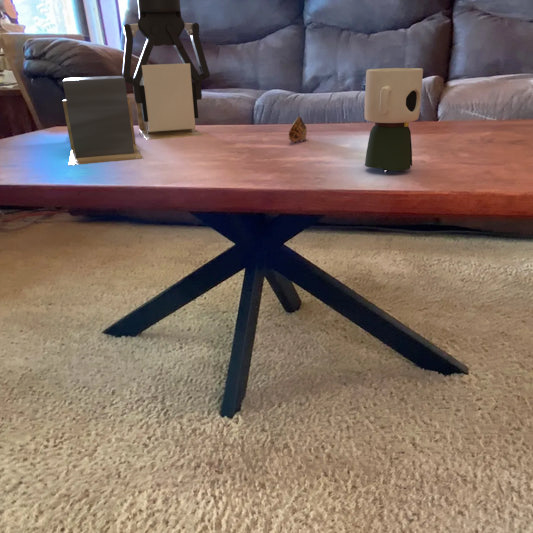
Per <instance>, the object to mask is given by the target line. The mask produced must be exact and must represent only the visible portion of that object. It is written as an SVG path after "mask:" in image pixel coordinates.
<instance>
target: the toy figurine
mask: <svg viewBox="0 0 533 533" xmlns="http://www.w3.org/2000/svg"><path fill="white" fill-rule="evenodd" d="M423 77H424V68H418V67H389V68H388V67H387V68H371V69H366V70H365V90H364V110H363V111H364V113H363V114H364V115H363V116H364V117H363V118H364V120H365V121H368V122H369V123H374V125H373V126H372V127H371V130H370V131H369V136H368V142H367V148H366V153H365V161H364V166H365V167H366V168H372V169H380V170H381V169H382V170H388V171H391V172H399V171H406V170H407V171H408V170H410V169H411V167H413V147H412V146H413V145H412V132H411V129H410V126H409V124H410V123H413V122H415V121H417V120H419V117H420V112H421V104H422V90H423V89H422V88H423Z"/></svg>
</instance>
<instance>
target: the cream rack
mask: <svg viewBox="0 0 533 533" xmlns="http://www.w3.org/2000/svg"><path fill="white" fill-rule="evenodd" d="M140 85H143V82H142V78H141V81H140ZM135 106H136V107H135V108H136V114H137V123H138V132H139V135H140V136H141V138H145V140H146V141H151V140H152V141H153V140H164V139H178V138H189V137H190V138H191V137H202V136H205V134H204V133H202V132H201V131H199V130H197V129H196V128H195V129H182V130H169V131H155V132H149V130H148V124H147V122H144V121H143V115H142V107H141V103H136V102H135Z"/></svg>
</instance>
